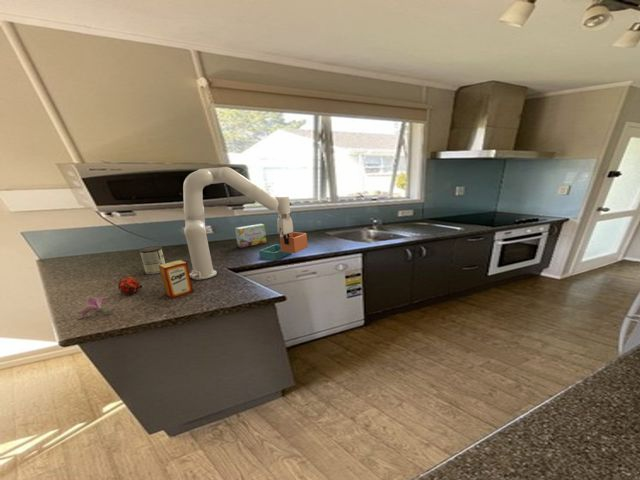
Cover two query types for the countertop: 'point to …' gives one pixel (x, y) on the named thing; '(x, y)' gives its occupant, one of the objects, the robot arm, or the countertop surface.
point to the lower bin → (272, 252)
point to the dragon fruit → (129, 285)
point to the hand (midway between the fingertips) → (287, 243)
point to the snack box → (250, 235)
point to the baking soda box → (176, 278)
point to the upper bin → (294, 243)
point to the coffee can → (152, 259)
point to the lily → (93, 304)
